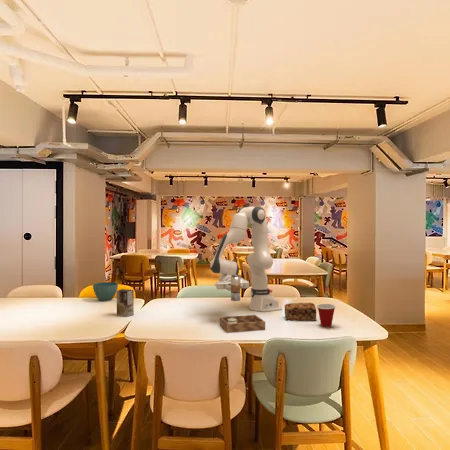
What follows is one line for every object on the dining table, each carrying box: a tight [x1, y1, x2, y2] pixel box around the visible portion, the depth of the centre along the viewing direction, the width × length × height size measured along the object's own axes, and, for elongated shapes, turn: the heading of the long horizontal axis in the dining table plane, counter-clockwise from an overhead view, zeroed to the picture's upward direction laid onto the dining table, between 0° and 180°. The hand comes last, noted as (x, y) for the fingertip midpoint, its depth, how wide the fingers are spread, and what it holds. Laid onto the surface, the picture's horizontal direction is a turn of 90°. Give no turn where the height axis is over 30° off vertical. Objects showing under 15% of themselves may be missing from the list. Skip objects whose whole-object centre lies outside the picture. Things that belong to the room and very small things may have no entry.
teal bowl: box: [92, 281, 119, 302], centre depth 289 cm, size 18×18×12 cm
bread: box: [284, 302, 317, 322], centre depth 236 cm, size 19×11×10 cm, turn 85°
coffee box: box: [116, 288, 135, 317], centre depth 243 cm, size 9×6×16 cm
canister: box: [230, 274, 241, 302], centre depth 224 cm, size 6×6×15 cm
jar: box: [228, 318, 237, 324], centre depth 213 cm, size 5×5×6 cm
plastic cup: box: [316, 303, 336, 328], centre depth 220 cm, size 11×11×12 cm
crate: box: [219, 314, 266, 333], centre depth 217 cm, size 22×16×4 cm
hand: (236, 287), depth 223 cm, fingers closed on canister, 6 cm apart
